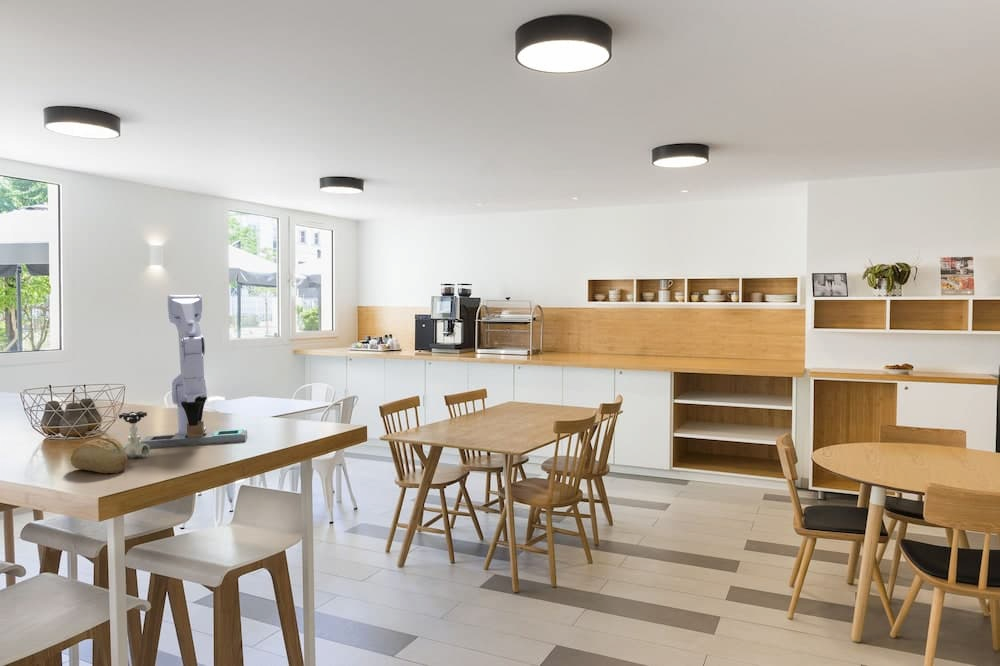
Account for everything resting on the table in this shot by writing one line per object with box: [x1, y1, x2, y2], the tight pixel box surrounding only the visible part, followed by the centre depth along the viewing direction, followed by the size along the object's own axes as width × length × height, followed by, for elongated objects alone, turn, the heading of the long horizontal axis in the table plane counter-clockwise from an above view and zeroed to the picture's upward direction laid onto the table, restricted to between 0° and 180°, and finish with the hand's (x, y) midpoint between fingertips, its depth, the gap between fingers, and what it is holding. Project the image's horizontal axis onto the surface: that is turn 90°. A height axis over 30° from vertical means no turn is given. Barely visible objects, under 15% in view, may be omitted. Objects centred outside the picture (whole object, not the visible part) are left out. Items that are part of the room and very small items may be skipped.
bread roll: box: [70, 437, 128, 474], centre depth 171 cm, size 10×15×8 cm, turn 71°
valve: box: [118, 410, 151, 459], centre depth 184 cm, size 7×7×12 cm
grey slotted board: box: [140, 428, 248, 449], centre depth 203 cm, size 8×28×2 cm, turn 106°
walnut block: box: [187, 420, 205, 438], centre depth 203 cm, size 4×4×6 cm
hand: (195, 423), depth 203 cm, fingers open, 7 cm apart
